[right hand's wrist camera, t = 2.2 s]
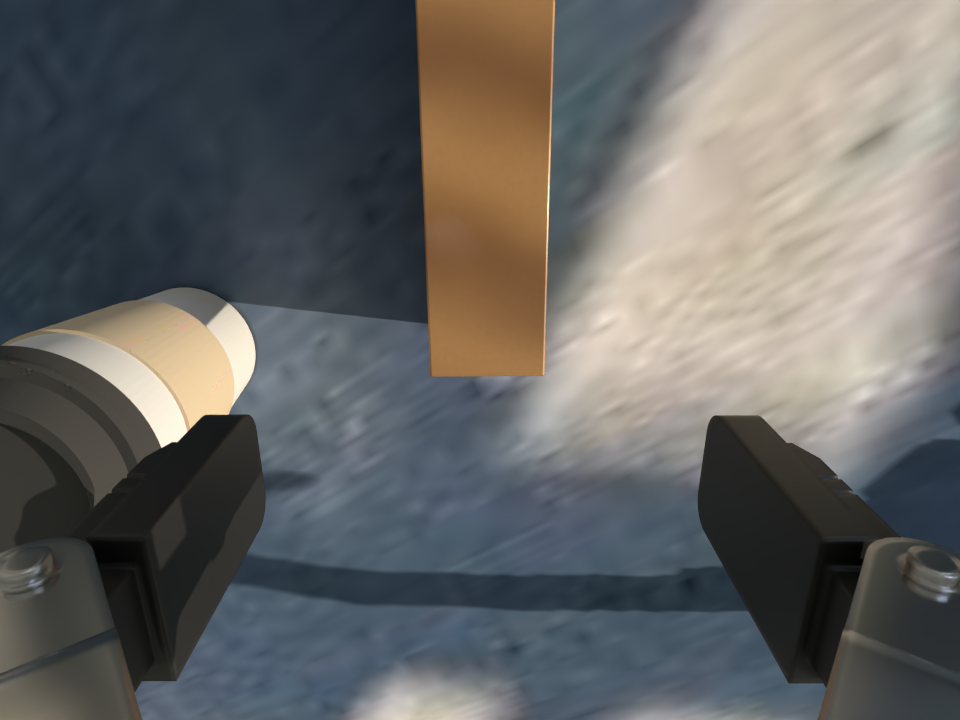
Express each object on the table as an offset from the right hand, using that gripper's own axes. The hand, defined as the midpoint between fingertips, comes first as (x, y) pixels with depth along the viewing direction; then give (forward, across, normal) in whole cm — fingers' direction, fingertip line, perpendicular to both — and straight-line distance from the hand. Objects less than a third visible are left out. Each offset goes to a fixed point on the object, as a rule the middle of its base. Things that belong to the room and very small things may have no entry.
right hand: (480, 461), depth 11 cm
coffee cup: (+22, +16, +6) cm, 28 cm away
